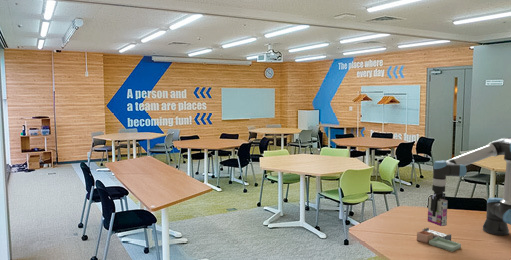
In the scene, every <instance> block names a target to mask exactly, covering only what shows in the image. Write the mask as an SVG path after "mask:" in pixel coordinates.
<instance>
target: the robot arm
mask: <svg viewBox="0 0 511 260" xmlns="http://www.w3.org/2000/svg"><path fill="white" fill-rule="evenodd" d="M497 156H503V160H504V161H505V162H506V164H505V165H506V167H505V176H504V185H503V186H504V187H503V195H502V197H488V198H487V201H486V215H485V216H486V217H485V218H486V219H485V220H484V223H483V226H482V230H483V232H486V233H488V234H490V235H497V236H507V235H509V234H510V229H509V226H508V225H510V226H511V137H502V138H499V139H495V140H493V141H491V142H488V143H487V144H486V145H484V146H482V147H479V148H477V149H474V150H471V151H469V152H466V153H463V154H461V155H458V156H455V157H453V158H449V159H442V160H435V161H434V162H433V166H432V167H433V168H432V170H433V171H432V180H431V181H432V185H431V186H432V187H431V189H432V191H433V195H431V196H430V197H431V211H433V212H432V221H434V222H437V212H436V211H437V204H438V200H440V199H444V200H446V193H445V192H446V182H447V177H459V178H461V177H465V176H466V175H467V167H466V166H469V165H472V164H475V163H476V162H480V161H482V160H485V159H487V158H491V157H497ZM436 199H438V200H436Z"/></svg>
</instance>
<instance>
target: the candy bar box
mask: <svg viewBox="0 0 511 260" xmlns="http://www.w3.org/2000/svg"><path fill="white" fill-rule="evenodd" d="M436 200H438V199H436ZM448 201H449V200H447V199H445V200H444V199H440V200H438V204H437V211H436V212H437V222H434V221H432V212H433V211H431V196H429V197H428V201H427V202H428V207H427V222H429V223H432V224H434V225H437V226H439V227H446V226H447V223H448V222H447V219H448V203H449V202H448Z"/></svg>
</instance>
